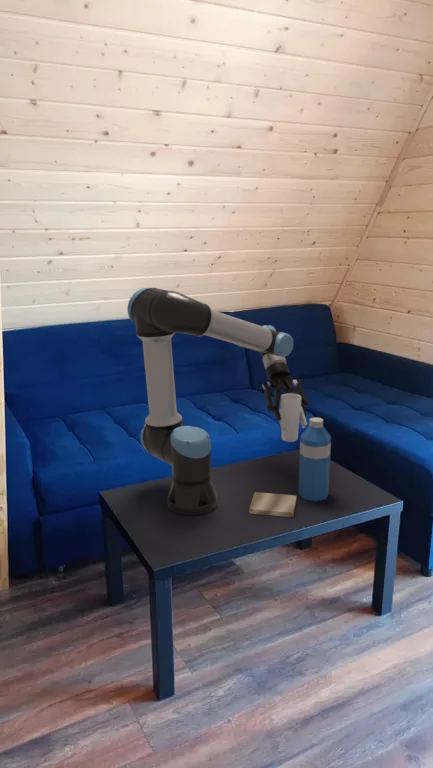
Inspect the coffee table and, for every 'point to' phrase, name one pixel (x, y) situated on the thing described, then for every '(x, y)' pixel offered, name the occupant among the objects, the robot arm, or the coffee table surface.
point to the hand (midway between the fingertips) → (294, 427)
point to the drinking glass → (291, 415)
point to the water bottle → (314, 461)
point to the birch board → (273, 504)
